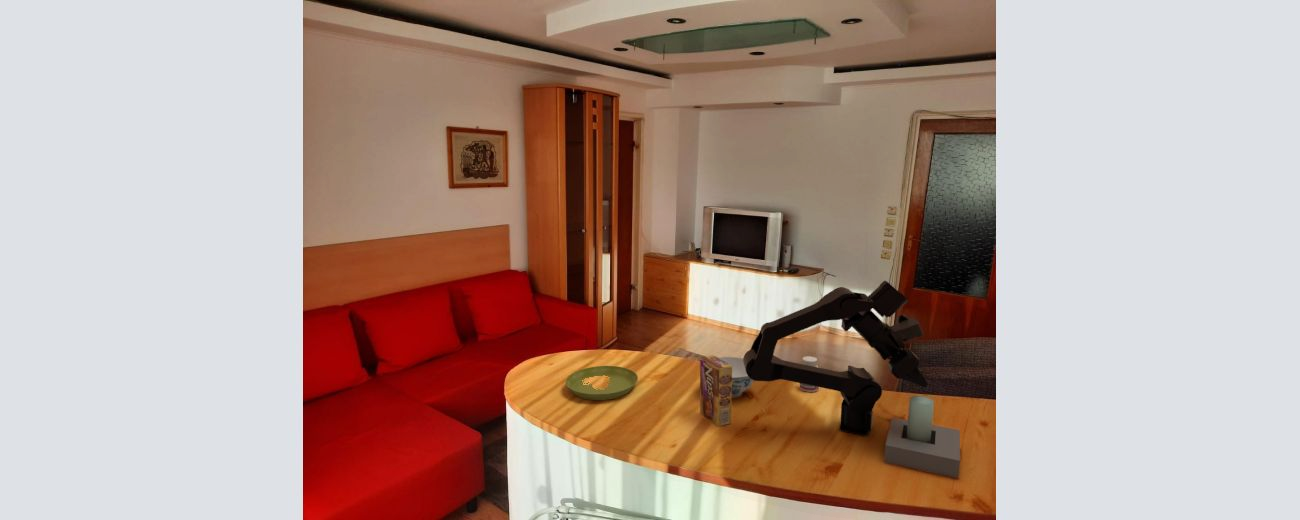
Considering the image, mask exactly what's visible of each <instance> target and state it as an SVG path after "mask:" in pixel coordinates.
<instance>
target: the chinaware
mask: <svg viewBox="0 0 1300 520" xmlns="http://www.w3.org/2000/svg"><path fill="white" fill-rule="evenodd" d="M717 358H719V359H721V360H723V361H724V362H726V363H728V364H730V365H732V398H731V399H733V398H737V397H741V396H742V395H743V392H745V391H747V390H748V389H749V388H750V387H751V386H752V385H753V383H754V382H755V381H754V380H752V379H750V378H749V376H748V375H747V373H746V370H745V366H744V362H743V357H737V356H719V357H718V356H717Z"/></svg>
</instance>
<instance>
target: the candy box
mask: <svg viewBox="0 0 1300 520" xmlns="http://www.w3.org/2000/svg"><path fill="white" fill-rule="evenodd" d="M699 362H700V363H699V365H700V366H699V367H700V369H699V373H700V374H699V377H700V378H699V414H701V416H703V417H705V418H706V419H707V420H709V421H710V422H711V423H712V424H714V425H715V426H716V427H722V426H727V425H731V424H732V399H733V398H732V365H730V364H728V363H726V362H724V361H723V360H721V359H719V358H718V356H715V355H714V354H709V355H705V356H701V357H700V359H699Z"/></svg>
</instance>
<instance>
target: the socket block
mask: <svg viewBox="0 0 1300 520" xmlns="http://www.w3.org/2000/svg"><path fill="white" fill-rule="evenodd" d="M907 425H908V419H903V418H897V417H891V420H890V425H889V428H888V429H889V430H888V433H887V437H886V440H885V441H886V442H885V446H884V448H885V449H884V459H883V461H884V463H887V464H891V465H895V466H896V465H897V466H901V467H904V468H909V469H914V470H918V471H922V472H927V473H932V474H936V475H940V476H945V477H948V478H949V477H950V478H954V479H959V476H960V475H959V474H960V467H961V466H960V463H961V433H960V432H961V430H960V429H955V428H950V427H945V426H940V425H934V424H932V430H931V441H930V444H929V443H924V442H919V441H914V440H909V439H906V437H907Z"/></svg>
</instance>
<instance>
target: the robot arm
mask: <svg viewBox="0 0 1300 520" xmlns="http://www.w3.org/2000/svg"><path fill="white" fill-rule="evenodd" d="M907 302H909V300H908V299H907V297H906V296H904V294H903V293H902V292H900V290H897V289H896V288H895V287H894V286H893V285H892V284H891V283H890V282H888V281H887V280H883V281H882V282H881V283H880V284H879V285H878V287H877V288H876V289H874V290H873V291H872V292H871V293H870V294H869V295H867V294H866V293H861V292H855V291H852V290H850V289H849V288H847V287H845V286H840V287H836V288H834V289H833V290H831V291H830V292H827V293H826V294H825V295H824V296H823V297H822V298H820V299H819V300H818V301H816V302H815V303H813V304H810V305H809V306H807V307H803V308H801V309H799V310H796V311H794V312H792V313H789V314H787V315H785V316H782V317H780V318H778V319H774V320H773V321H770V322H765V323H764V324H762V325H761V327H760V331H759V332H758V334H757V336H756V338H755V339H754V340H753V343H752V345H751V347H750V349H749V350H748V351H746V352H745V353H744V355H743V357H742V358H743V362H744V366H745V370H746V373H747V375H748V376H749V378H750V379H752V380H754V382H773V381H774V382H775V381H780V380H783V381H786V382H787V381H788V382H794V383H796V384H797V383H798V384H800V383H802V384H807V385H811V386H816V387H819V388H821V389H828V390H830V391H837V392H840V395H841V397H842V398H843V399H842V402H841V407H840V408H841V409H840V424H839V427H838V431H841V432H847V433H851V434H856V435H859V436H865V437H867V436H868V435H869V431H872V429H873V428H872V427H873V416H874V411H873V410H874V408H875V405H876V403H877V402H878V400H879V399H881V396H882V394H883V390H882V389H883V388H882V386H881V385H880V383H879V382H878V381H877V380H876V379H875V377H874V376H873V375H872V374H871V373H870V372H869V371H867V369H866V368H865V367H856V366H852V365H848V366H847V370H844V371H836V370H832V369H827V368H823V367H819V366H818V367H819V368H818V367H813V366H808V365H803V363H797V362H793V361H787V360H784V359H781V358H779V357H777V356H776V355H774V353H775V349H776V346H777V343H778V341H780V340H781V339H784V338H786V337H789V336H791V335H794V334H796V333H799V332H801V331H804V330H807V329H809V328H811V327H813V326H816V325H818V324H820V323H821V324H822V323H825V322H827V321H839V320H841V328H842V329H843V331H844V332H848V331H849V330H850V329H851V328H853V329H854V330H855V332H857V333H858V334H859V335H860V336H861V337H862V338H863V340H864V341H865V342H866V343H867V344H868V345H869V347H870V348H871V349H874V350H875V351H876V352H877V353H878V354H879V355H880V358H881V359H882V360H883V361H886V360H888V362H887V364H888V365H887V368H888V370H889V372H890V373H891V374H892V375H893V376H894V377H895V379H899V380H901V379H902V380H904V381H907V382H910V383H913V384H915V385H918V386H921V387H923V388H926V387H928V386H929V383H928V381H927V379H926V378H925V376H924V375H923V374H922V372H921V370H920V369H919V365H920V362H921V360H920V359H919V357H918V356H917V355H916V354H915V353H914V352H913V351H912V350H911V349H905V346H906V345H907V343H906V342H908V341H910V340H914V339H915V338H921V337H923V336H924V332H923V331H924V330H923V329H922V327H921V324H920V323H919V320H917V319H916V318H915V317H912V316H909V318H908V317H907V316H906V315H905V314H903V313H901V314H899V315H897V316H896V322H894V324H893V325H891V326H890V325H889V324H888V323H887V322H886V323H885V322H883V321H882V320H881V318H884V317H885V318H891V317H892V316H893V315H895V314H896V312H897V311H899V310H900V309H901V308H902V307H903V306H904V305H905V304H907ZM872 309H873V310H874V311H875V312H876V313H877V314H878V315H880V317H881V318H879V317H878V316H877V315H876V313H874V312H873V311H872Z"/></svg>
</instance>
